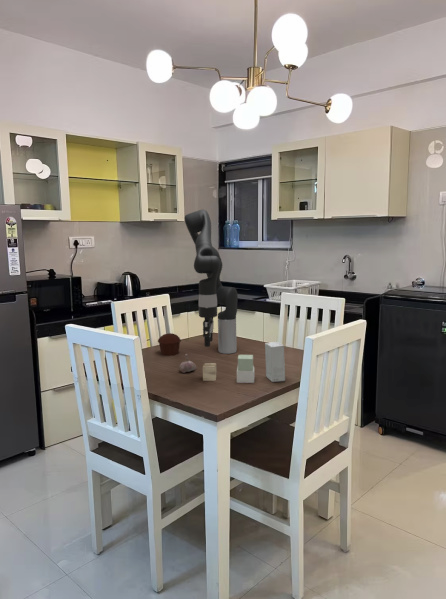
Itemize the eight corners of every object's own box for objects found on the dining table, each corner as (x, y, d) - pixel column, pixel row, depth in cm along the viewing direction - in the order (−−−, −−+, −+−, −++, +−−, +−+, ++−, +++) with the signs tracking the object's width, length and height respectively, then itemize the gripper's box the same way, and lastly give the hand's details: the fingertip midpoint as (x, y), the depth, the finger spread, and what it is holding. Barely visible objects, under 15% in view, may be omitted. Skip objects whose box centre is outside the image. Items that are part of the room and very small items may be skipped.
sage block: (238, 366, 189) (238, 354, 188) (253, 366, 188) (253, 354, 188) (237, 370, 183) (237, 358, 182) (252, 370, 182) (252, 358, 182)
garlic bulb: (180, 374, 195) (179, 356, 194) (178, 369, 202) (177, 352, 201) (197, 373, 197) (196, 355, 196) (195, 368, 204) (194, 351, 203)
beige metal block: (204, 376, 191) (204, 363, 190) (216, 377, 191) (216, 363, 190) (203, 380, 186) (202, 366, 186) (215, 380, 186) (214, 366, 185)
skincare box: (285, 381, 184) (285, 345, 182) (271, 382, 183) (271, 346, 180) (278, 375, 192) (278, 340, 190) (264, 376, 191) (264, 341, 188)
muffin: (182, 350, 235) (181, 331, 233) (180, 356, 224) (180, 336, 223) (159, 350, 235) (158, 331, 233) (156, 356, 224) (156, 336, 222)
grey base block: (237, 377, 190) (237, 366, 189) (254, 377, 190) (254, 366, 189) (236, 383, 183) (236, 371, 183) (254, 383, 183) (253, 371, 182)
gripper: (201, 302, 191) (202, 339, 194) (196, 307, 177) (197, 348, 180) (218, 302, 191) (219, 339, 193) (215, 307, 177) (215, 348, 179)
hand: (208, 343), depth 186 cm, fingers open, 8 cm apart
